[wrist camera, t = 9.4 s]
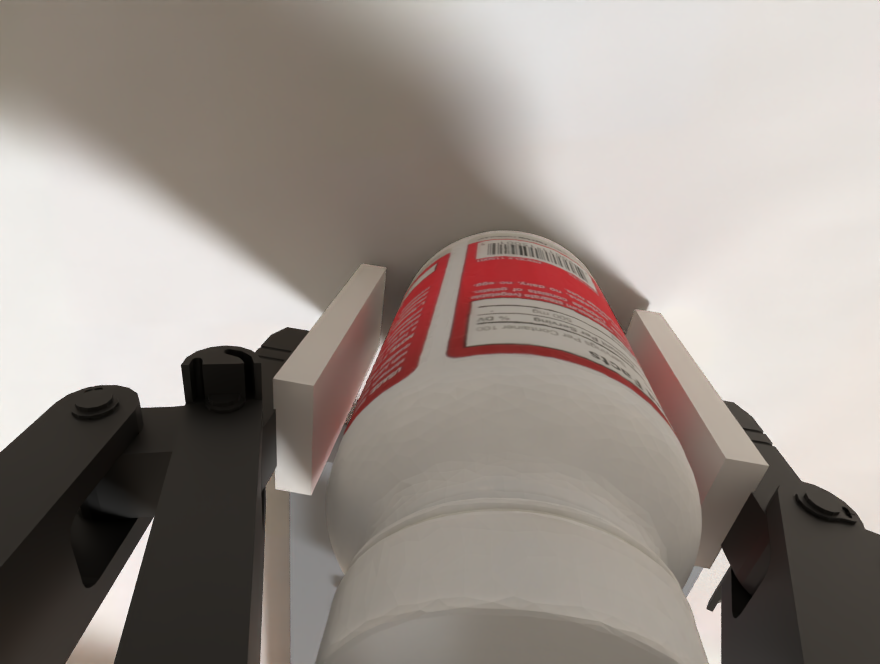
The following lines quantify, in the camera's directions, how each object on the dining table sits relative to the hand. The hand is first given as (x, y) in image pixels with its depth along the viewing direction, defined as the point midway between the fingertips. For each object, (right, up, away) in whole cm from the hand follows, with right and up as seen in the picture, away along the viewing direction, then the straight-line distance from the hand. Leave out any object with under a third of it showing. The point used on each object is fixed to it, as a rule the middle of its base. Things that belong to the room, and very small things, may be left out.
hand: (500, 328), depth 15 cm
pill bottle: (0, 0, 0) cm, 1 cm away
